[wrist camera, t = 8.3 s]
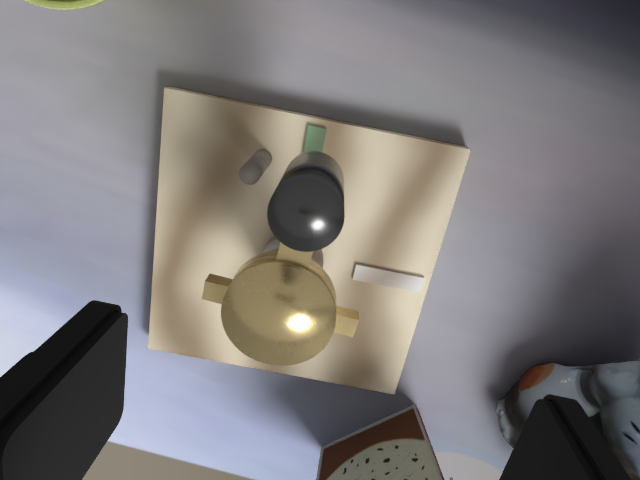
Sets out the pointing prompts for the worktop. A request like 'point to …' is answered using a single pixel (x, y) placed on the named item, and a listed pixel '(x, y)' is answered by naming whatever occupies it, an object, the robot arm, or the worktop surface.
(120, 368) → the robot arm
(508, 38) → the worktop surface
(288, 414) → the worktop surface
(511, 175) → the worktop surface
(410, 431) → the food container
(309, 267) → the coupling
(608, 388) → the lucky cat figurine
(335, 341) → the post base
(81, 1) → the plant pot
